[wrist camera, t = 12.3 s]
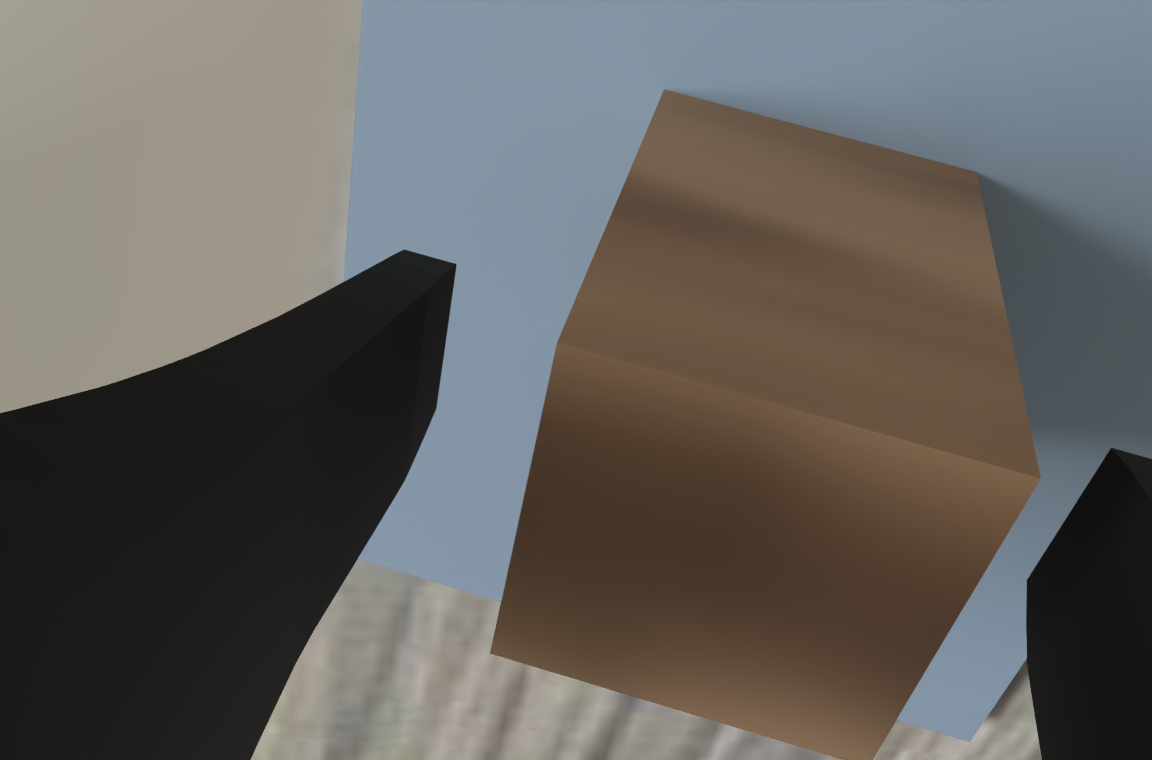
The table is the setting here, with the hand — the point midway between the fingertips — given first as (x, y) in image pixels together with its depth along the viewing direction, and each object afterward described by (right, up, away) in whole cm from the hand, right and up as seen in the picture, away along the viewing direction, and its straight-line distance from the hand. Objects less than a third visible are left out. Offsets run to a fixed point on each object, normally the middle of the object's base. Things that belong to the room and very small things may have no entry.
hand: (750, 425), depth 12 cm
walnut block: (+1, +2, +3) cm, 4 cm away
